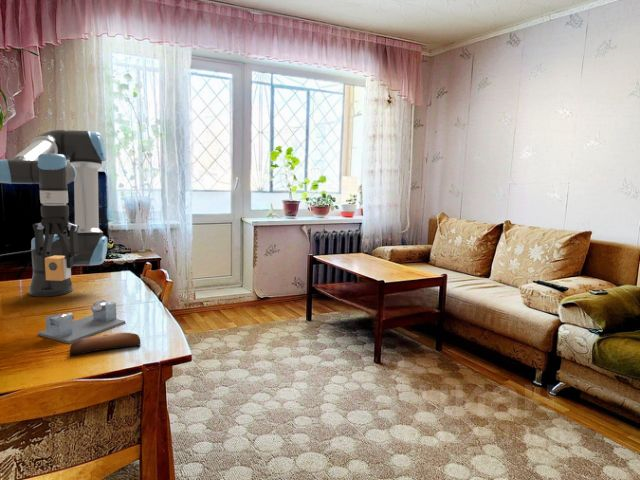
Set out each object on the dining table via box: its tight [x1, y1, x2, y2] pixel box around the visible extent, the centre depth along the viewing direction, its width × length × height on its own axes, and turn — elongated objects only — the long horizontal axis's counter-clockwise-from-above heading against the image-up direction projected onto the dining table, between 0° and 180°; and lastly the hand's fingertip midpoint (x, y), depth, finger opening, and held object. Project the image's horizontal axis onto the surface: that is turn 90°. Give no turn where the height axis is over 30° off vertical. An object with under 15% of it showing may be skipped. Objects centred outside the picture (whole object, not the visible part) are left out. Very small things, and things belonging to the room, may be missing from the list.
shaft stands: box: [45, 299, 118, 338], centre depth 142 cm, size 6×20×6 cm, turn 155°
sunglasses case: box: [69, 332, 142, 357], centre depth 129 cm, size 18×7×7 cm
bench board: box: [37, 314, 126, 344], centre depth 142 cm, size 14×20×1 cm
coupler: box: [45, 255, 65, 281], centre depth 143 cm, size 5×5×7 cm
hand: (58, 277), depth 143 cm, fingers closed on coupler, 5 cm apart
